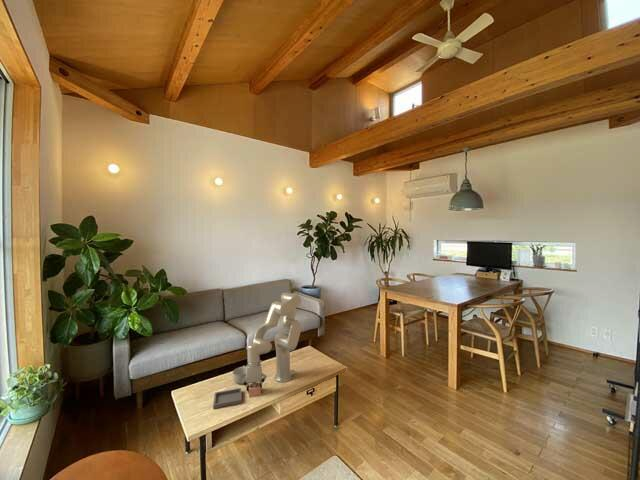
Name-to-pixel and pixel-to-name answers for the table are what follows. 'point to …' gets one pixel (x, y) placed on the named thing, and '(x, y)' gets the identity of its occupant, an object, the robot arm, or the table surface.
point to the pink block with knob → (254, 390)
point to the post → (254, 384)
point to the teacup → (239, 374)
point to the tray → (227, 398)
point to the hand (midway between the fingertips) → (254, 390)
